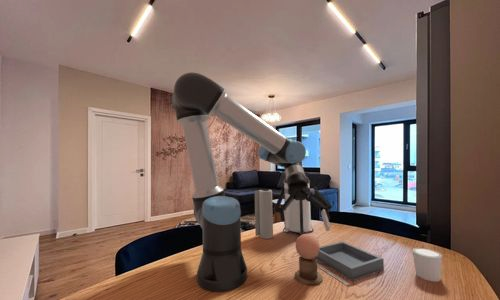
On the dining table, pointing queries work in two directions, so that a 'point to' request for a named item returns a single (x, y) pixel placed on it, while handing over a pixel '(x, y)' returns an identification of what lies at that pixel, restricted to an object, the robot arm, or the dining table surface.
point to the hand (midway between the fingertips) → (307, 229)
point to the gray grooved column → (263, 214)
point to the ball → (307, 246)
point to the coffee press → (298, 213)
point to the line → (333, 275)
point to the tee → (308, 272)
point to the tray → (350, 260)
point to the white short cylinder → (427, 264)
